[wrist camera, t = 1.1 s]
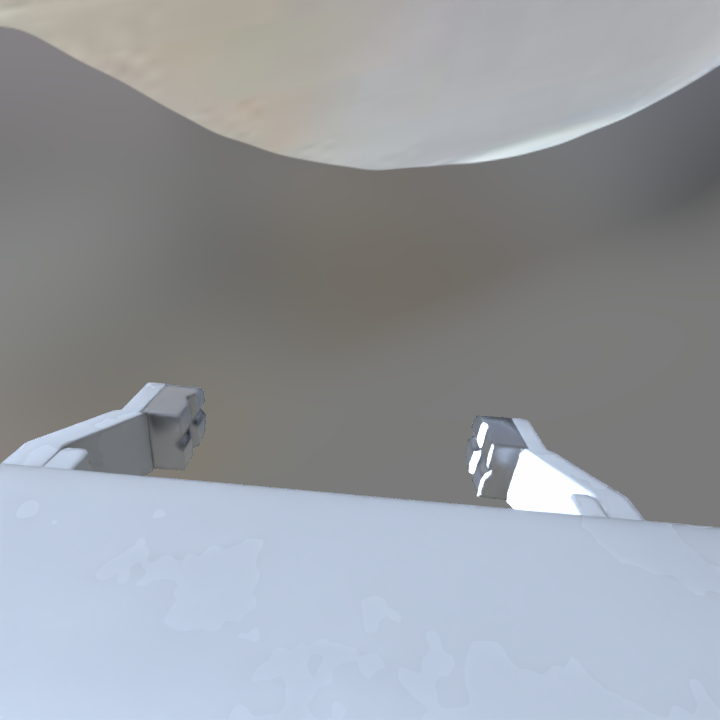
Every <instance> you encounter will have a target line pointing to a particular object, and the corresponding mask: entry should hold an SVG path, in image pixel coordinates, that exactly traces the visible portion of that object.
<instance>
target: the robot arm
mask: <svg viewBox="0 0 720 720" xmlns="http://www.w3.org/2000/svg"><path fill="white" fill-rule="evenodd" d="M204 402H205V398H204V391H203V389H202V388H196V387H188V386H179V385H170V384H168V385H167V384H163V383H147V384H146V385H145V386H144V387H143V388H142V389H141V391H140V392H138V394H137V395H136V396H135V397H134V398H133V399H132V400H131V401H130V402H129V403H128V404H127V405H126V406H125V407H124V408H123V409H122V410H114V411H111V412H109V413H106V414H103V415H100V416H98V417H95V418H92V419H89V420H86V421H84V422H81V423H78V424H75V425H73V426H70V427H67V428H65V429H62V430H59V431H56V432H54V433H51V434H48V435H45V436H42V437H40V438H37V439H34V440H31V441H29V442H26V443H25V444H24V445H23V446H21V447H20V448H19V449H18V450H17V451H15V452H14V453H13V454H12V455H11V456H9V457H8V458H7V459H6V460H5V461H4V462H2V463H0V720H720V527H709V526H697V525H686V524H675V523H664V522H653V521H645V520H644V518H643V517H642V516H641V515H640V513H639V512H638V511H637V509H636V508H635V507H634V506H633V504H632V503H631V502H630V500H629V499H628V498H627V497H625V496H624V495H622V494H620V493H619V492H617V491H616V490H614V489H612V488H611V487H609V486H608V485H606V484H604V483H603V482H601V481H599V480H598V479H596V478H595V477H593V476H591V475H590V474H588V473H587V472H585V471H583V470H582V469H580V468H578V467H577V466H575V465H574V464H572V463H570V462H569V461H567V460H565V459H564V458H562V457H561V456H559V455H557V454H556V453H554V452H552V451H547V449H546V448H545V446H544V445H543V443H542V442H541V440H540V438H539V437H538V435H537V434H536V432H535V430H534V429H533V427H532V426H531V424H530V423H529V421H528V420H526V419H518V418H503V417H502V418H501V417H489V416H476V417H475V419H474V421H473V424H472V429H473V432H474V435H473V436H472V437H471V438H470V439H469V440H468V444H467V448H466V463H467V467H468V470H469V471H470V472H471V473H473V474H474V475H473V479H472V482H473V485H474V488H475V491H476V494H477V497H483V498H492V499H500V500H507V502H508V504H509V505H510V506H511V507H512V508H513V509H508V508H496V507H486V506H474V505H463V504H452V503H440V502H429V501H418V500H407V499H395V498H385V497H374V496H362V495H351V494H339V493H329V492H317V491H306V490H295V489H284V488H272V487H261V486H251V485H238V484H228V483H217V482H206V481H194V480H183V479H172V478H161V477H150V476H145V475H146V474H148V473H150V472H151V471H153V468H155V469H171V470H185V469H186V467H187V465H188V464H189V462H190V460H191V459H192V457H193V448H195V447H197V446H199V445H200V442H201V441H202V439H203V435H204V432H205V426H206V414H205V413H204V412H203V411H202V409H201V407H202V405H203V404H204Z"/></svg>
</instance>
